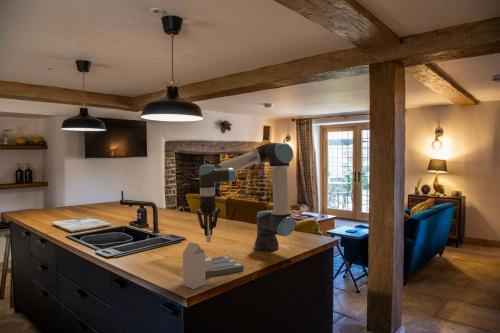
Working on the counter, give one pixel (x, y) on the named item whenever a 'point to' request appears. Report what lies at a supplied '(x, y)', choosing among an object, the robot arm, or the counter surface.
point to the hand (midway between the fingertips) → (208, 241)
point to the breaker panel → (221, 266)
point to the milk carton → (193, 266)
